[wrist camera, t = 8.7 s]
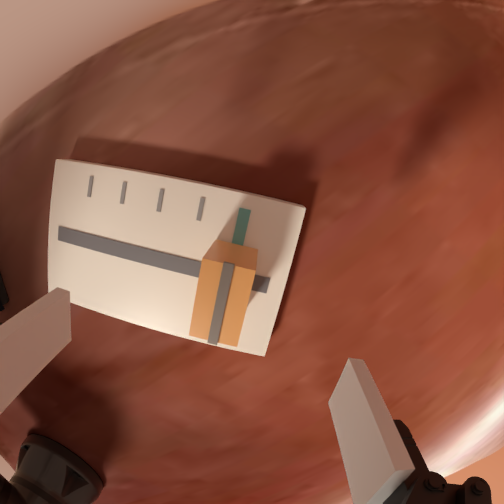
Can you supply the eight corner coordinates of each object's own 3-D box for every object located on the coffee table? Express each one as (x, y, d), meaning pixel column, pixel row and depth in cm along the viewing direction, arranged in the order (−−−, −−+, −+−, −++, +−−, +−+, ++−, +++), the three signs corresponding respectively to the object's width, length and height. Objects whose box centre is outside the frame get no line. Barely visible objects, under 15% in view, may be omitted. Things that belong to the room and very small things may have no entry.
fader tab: (242, 314, 23) (236, 349, 18) (202, 304, 23) (188, 338, 18) (258, 247, 22) (256, 269, 17) (216, 237, 22) (202, 257, 17)
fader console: (264, 343, 26) (264, 357, 24) (59, 286, 26) (47, 294, 24) (302, 205, 23) (306, 208, 21) (69, 159, 23) (55, 159, 21)
